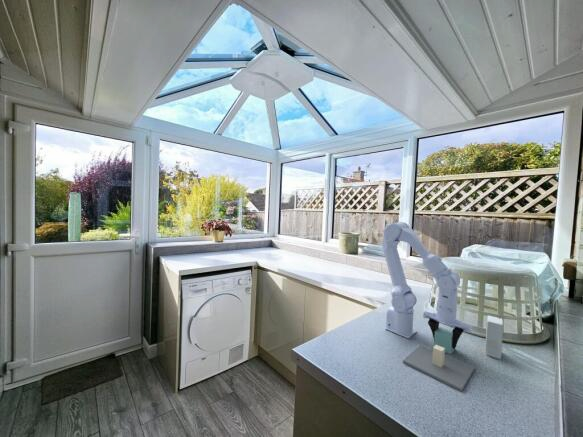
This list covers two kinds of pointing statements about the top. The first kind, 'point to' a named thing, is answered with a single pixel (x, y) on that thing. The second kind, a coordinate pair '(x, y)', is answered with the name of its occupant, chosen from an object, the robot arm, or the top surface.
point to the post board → (441, 374)
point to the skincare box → (494, 336)
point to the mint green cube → (444, 339)
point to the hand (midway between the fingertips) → (444, 343)
